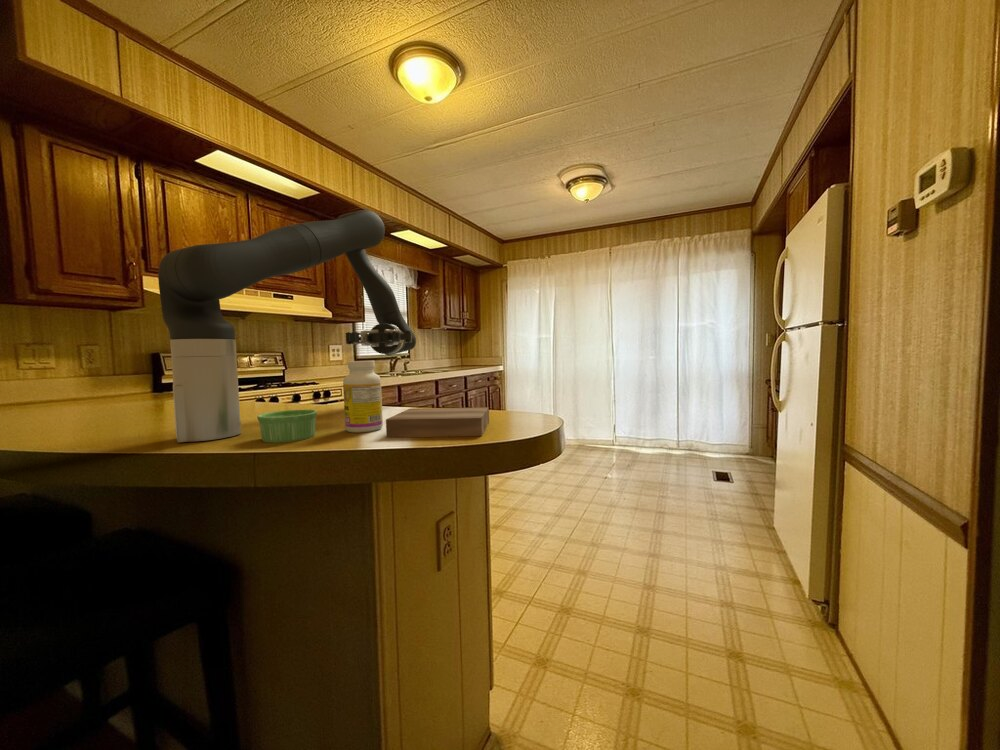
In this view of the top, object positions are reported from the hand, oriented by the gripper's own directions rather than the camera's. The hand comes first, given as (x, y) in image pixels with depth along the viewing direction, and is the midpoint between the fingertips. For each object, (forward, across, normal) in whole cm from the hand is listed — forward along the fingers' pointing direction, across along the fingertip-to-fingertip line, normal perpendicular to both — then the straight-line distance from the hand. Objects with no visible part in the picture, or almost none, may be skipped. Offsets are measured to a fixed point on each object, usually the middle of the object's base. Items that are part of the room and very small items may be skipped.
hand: (373, 336), depth 83 cm
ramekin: (+16, -12, +18) cm, 27 cm away
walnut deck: (+15, +14, +18) cm, 27 cm away
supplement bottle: (+11, 0, +18) cm, 21 cm away
